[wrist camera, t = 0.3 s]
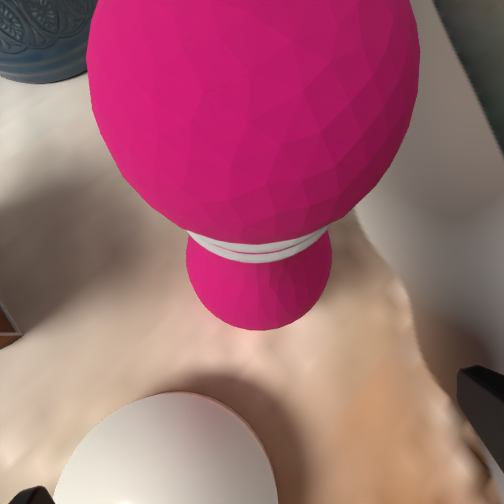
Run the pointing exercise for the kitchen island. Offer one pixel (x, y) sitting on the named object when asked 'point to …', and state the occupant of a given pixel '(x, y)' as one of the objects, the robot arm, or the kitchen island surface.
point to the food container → (7, 328)
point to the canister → (44, 39)
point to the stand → (169, 456)
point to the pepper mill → (254, 131)
